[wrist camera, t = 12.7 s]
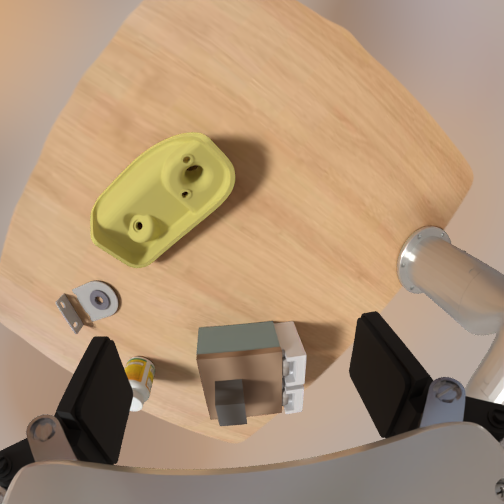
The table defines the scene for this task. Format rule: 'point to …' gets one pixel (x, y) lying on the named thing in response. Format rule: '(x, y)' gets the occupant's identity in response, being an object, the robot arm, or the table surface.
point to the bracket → (89, 303)
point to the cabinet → (261, 338)
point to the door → (243, 384)
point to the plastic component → (161, 198)
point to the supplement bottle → (140, 380)
